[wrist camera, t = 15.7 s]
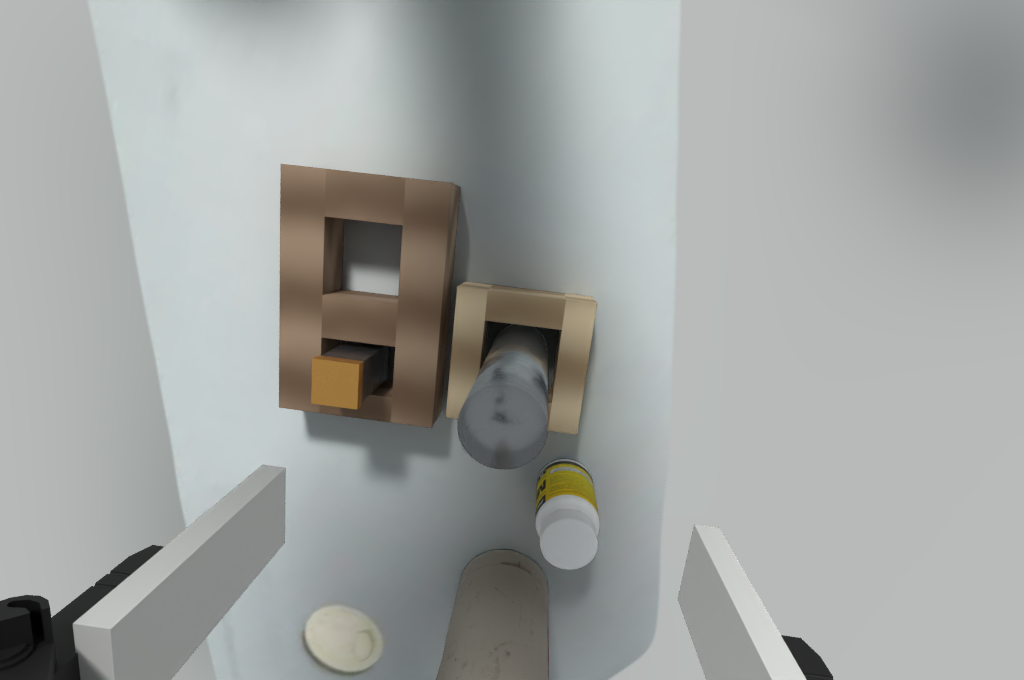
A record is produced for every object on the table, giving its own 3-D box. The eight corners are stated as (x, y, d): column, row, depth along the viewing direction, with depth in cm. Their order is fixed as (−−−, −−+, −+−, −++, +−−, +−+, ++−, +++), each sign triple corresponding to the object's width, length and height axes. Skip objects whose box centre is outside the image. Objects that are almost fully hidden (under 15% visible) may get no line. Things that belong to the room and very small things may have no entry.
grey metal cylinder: (495, 320, 39) (461, 379, 24) (551, 327, 39) (553, 390, 24) (490, 373, 40) (453, 463, 25) (544, 380, 40) (541, 474, 25)
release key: (351, 336, 40) (312, 358, 33) (390, 341, 40) (359, 364, 33) (349, 374, 40) (311, 403, 34) (388, 379, 40) (357, 409, 34)
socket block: (304, 169, 38) (280, 163, 34) (460, 187, 37) (451, 183, 34) (300, 392, 42) (279, 407, 38) (441, 411, 41) (431, 427, 38)
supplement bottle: (535, 457, 42) (533, 513, 34) (592, 456, 41) (604, 513, 33) (537, 508, 43) (535, 575, 35) (592, 508, 42) (604, 575, 34)
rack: (465, 281, 39) (457, 286, 35) (592, 296, 38) (597, 303, 35) (454, 401, 41) (445, 417, 38) (574, 417, 41) (577, 434, 37)
